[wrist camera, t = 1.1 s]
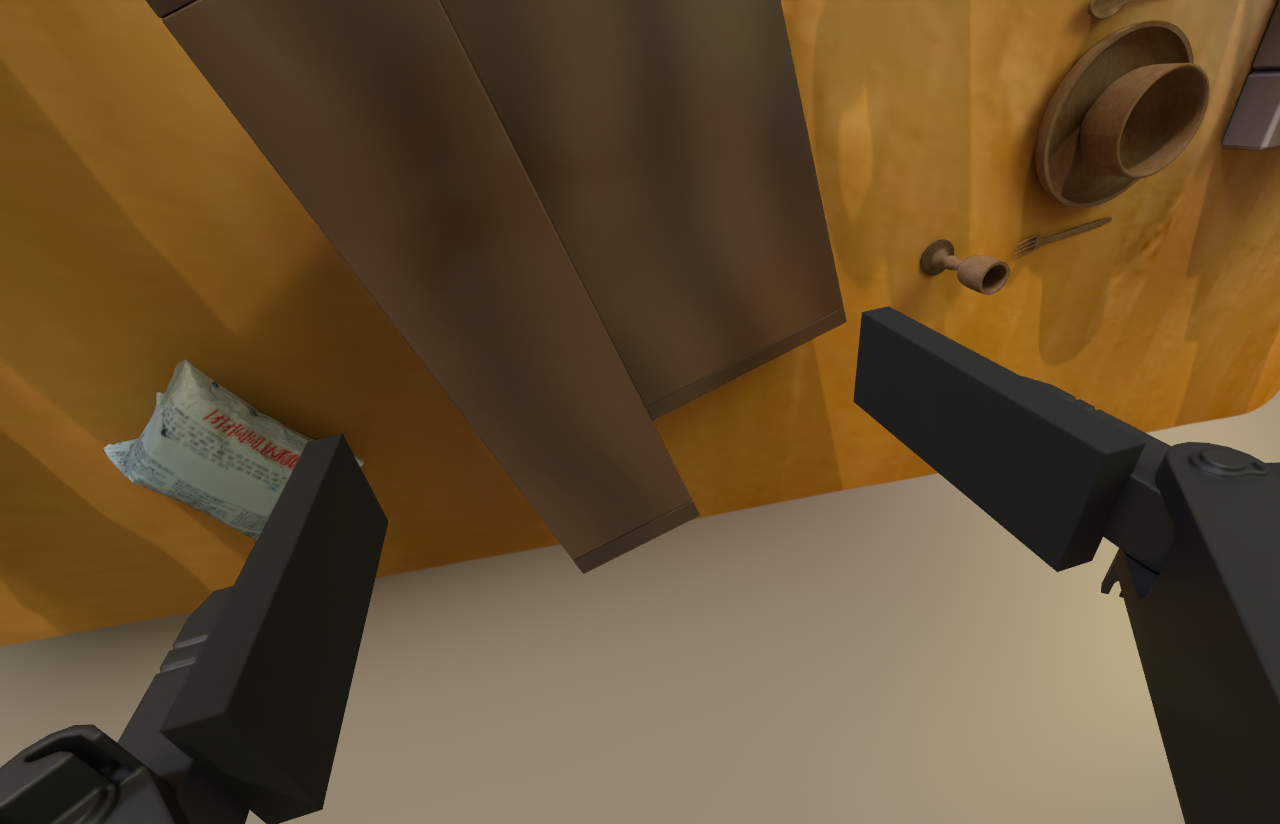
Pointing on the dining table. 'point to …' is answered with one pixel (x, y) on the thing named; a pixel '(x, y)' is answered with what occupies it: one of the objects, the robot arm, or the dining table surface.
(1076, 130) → the place setting
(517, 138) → the stepped stand
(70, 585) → the dining table surface
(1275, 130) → the miniature tower
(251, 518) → the packaged food
